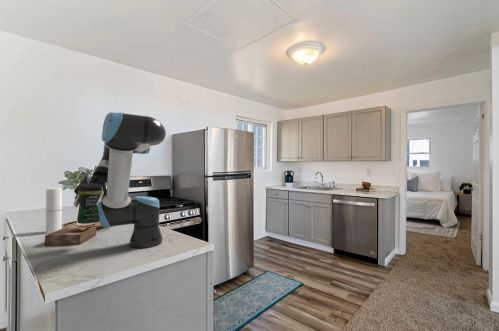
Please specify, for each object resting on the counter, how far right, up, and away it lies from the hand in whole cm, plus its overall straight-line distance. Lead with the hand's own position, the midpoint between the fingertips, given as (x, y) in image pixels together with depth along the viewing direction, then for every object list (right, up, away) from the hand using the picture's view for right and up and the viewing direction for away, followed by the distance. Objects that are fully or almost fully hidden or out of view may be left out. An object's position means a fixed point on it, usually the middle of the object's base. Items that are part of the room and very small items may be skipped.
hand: (86, 205), depth 112 cm
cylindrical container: (-37, -20, +27) cm, 50 cm away
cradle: (-16, -20, +13) cm, 28 cm away
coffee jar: (-1, -9, +3) cm, 9 cm away
